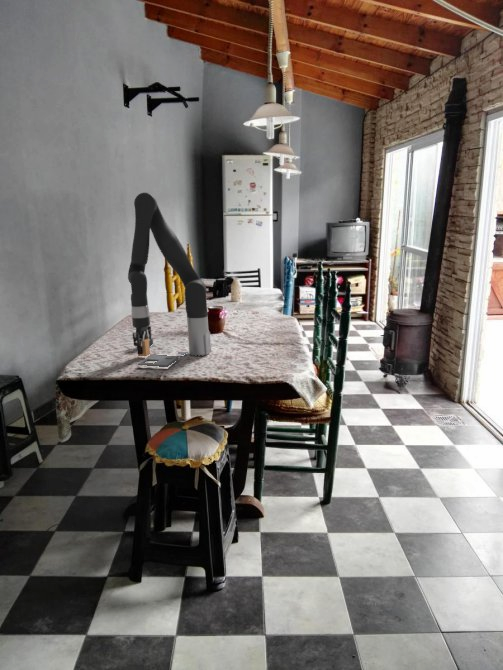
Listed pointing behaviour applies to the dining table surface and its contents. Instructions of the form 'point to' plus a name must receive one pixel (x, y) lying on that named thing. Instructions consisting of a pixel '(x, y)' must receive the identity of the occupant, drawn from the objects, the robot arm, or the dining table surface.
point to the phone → (182, 353)
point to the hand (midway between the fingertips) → (143, 351)
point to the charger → (145, 348)
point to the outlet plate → (159, 360)
